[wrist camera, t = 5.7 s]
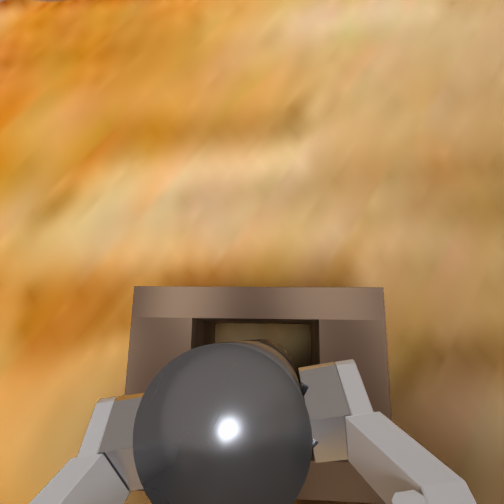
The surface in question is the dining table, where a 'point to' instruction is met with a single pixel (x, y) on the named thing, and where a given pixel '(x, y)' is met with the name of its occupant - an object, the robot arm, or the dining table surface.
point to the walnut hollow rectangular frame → (281, 312)
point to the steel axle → (224, 427)
